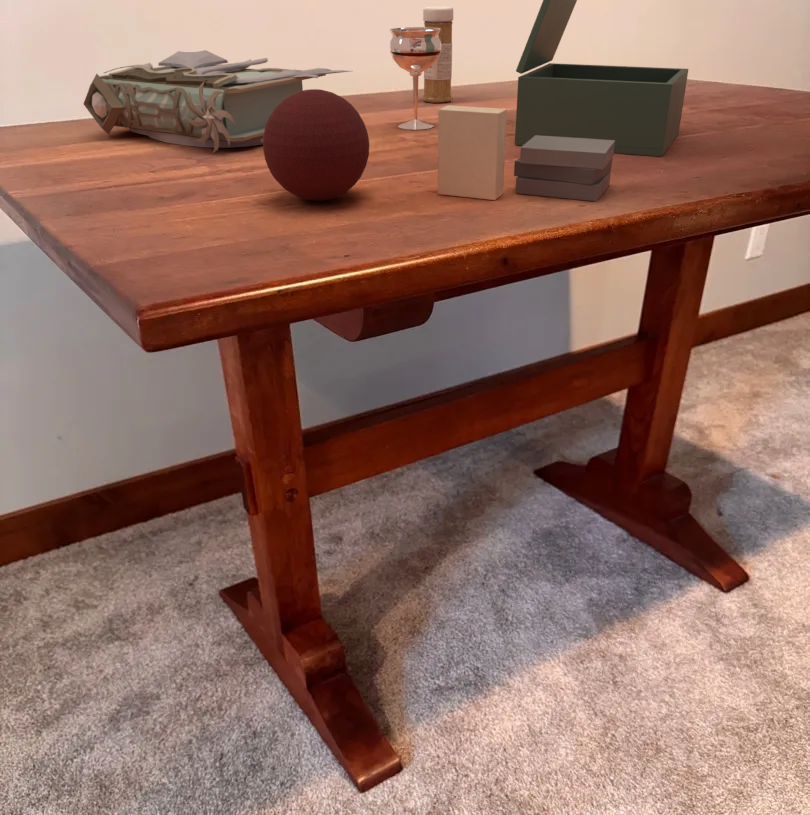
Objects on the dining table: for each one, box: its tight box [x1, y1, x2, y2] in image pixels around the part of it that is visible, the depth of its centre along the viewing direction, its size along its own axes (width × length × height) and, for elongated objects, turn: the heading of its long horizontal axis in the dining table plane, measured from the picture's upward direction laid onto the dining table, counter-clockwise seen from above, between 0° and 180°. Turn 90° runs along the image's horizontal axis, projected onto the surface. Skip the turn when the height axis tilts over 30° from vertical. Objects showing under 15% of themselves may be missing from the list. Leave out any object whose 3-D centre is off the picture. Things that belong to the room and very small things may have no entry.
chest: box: [514, 62, 689, 157], centre depth 98 cm, size 18×14×8 cm
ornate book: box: [83, 49, 352, 154], centre depth 105 cm, size 23×10×30 cm
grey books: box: [513, 135, 615, 202], centre depth 79 cm, size 9×7×4 cm
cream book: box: [437, 104, 508, 201], centre depth 77 cm, size 6×2×8 cm, turn 66°
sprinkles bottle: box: [422, 5, 454, 104], centre depth 123 cm, size 5×5×14 cm
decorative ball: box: [262, 88, 370, 202], centre depth 75 cm, size 10×10×10 cm
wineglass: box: [389, 26, 441, 131], centre depth 106 cm, size 7×7×12 cm
